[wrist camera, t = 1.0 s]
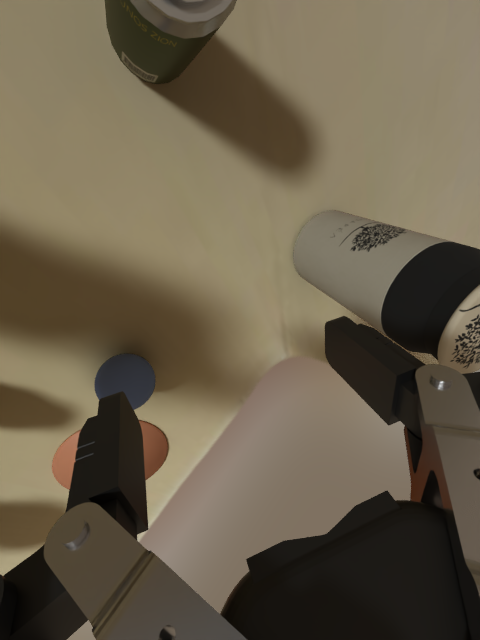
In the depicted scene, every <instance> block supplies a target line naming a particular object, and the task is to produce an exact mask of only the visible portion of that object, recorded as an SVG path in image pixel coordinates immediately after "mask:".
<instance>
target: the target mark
mask: <svg viewBox="0 0 480 640" xmlns="http://www.w3.org/2000/svg"><path fill="white" fill-rule="evenodd" d="M139 423H140V426H141V429H142V434H143V449H144V466H145V480H147V479H148V478H149V477H151V476H152V475H153V474H154V473H155V472H156V471H157V470H158V469H159V468H160V467H161V465H162V464H163V462H164V460H165V458H166V455H167V450H168V446H167V441H166V438H165V436H164V434H163V433H162V432H161V431H160V430H159V429H158V428H157V427H155V426H153V425H152V424H149V423H147V422H144V421H140V420H139ZM81 430H82V429H81ZM81 430H79V431H77V432H76V433H74V434H73V435H71V436H70V437H69V438H67V439H66V440H65V441H64V442H63V443H62V444H61V446H60V447H59V448H58V450H57V451H56V453H55V455H54V458H53V463H52V471H53V474H54V477H55V478H56V480H57V481H58V482H59V483H60V484H61V485H62V486H64V487H65V488H67V489H69V490H70V485H71V479H72V474H73V468H74V462H76V461H75V456H76V450H78V449H77V444H78V438H79V433H80V431H81Z"/></svg>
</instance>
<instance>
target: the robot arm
mask: <svg viewBox="0 0 480 640" xmlns="http://www.w3.org/2000/svg"><path fill="white" fill-rule="evenodd" d="M325 354H326V358H327V360H328V362H329V364H330V365H331V367H332V368H333V369H334V370H335V371H336V372H337V373H338V374H339V375H340V376H341V377H342V378H343V379H344V380H345V381H346V382H347V383H348V384H349V385H350V386H351V387H352V388H353V389H354V390H355V391H356V392H357V393H358V395H360V397H361V398H362V399H363V400H364V401H365V402H366V403H367V404H368V405H369V406H370V407H371V408H372V409H373V410H374V411H375V412H376V413H377V414H378V415H379V416H380V417H381V418H382V419H383V420H384V421H385V422H386V423H387V424H388V425H391V424H393V423H396V422H398V421H401V422H402V423H403V424H404V425H405V427H404V435H405V442H406V450H407V457H408V464H409V470H410V478H411V495H410V501H407V500H401V501H400V500H397V501H395V500H394V499H393V497H392V496H391V495H390V494H389V492H388V491H385V492H383V493H381V494H379V495H377V496H375V497H373V498H371V499H369V500H367V501H364V502H362V503H361V504H358V505H356V506H355V507H354V508H353V509H352V510H351V511H350V512H349V513H348V514H347V515H346V516H345V517H344V518H343V519H342V520H341V521H340V522H339V523H338V524H337V525H336V526H335V527H334V528H332V529H331V530H330V531H329V532H328V533H327V534H325V535H321V536H313V537H307V538H300V539H293V540H287V541H283V542H280V543H278V544H277V545H274V546H272V547H270V548H268V549H266V550H264V551H262V552H260V553H258V554H256V555H254V556H252V557H250V558H248V559H247V564H248V567H249V570H250V571H249V572H248V573H247V574H246V575H245V576H244V577H243V578H242V579H241V580H240V581H239V583H238V584H237V585H236V586H235V588H234V589H233V591H232V592H231V594H230V595H229V597H228V599H227V601H226V603H225V605H224V607H223V609H222V611H221V613H220V614H219V613H218V612H217V611H216V610H215V609H214V608H213V607H212V606H210V605H209V604H208V603H207V602H206V601H205V600H204V599H203V598H202V597H201V596H200V595H199V594H197V593H196V592H195V591H194V590H193V589H192V588H191V587H190V586H189V585H188V584H187V583H186V582H185V581H183V580H182V579H181V578H180V577H179V576H178V575H177V574H176V573H175V572H174V571H173V570H172V569H171V568H169V567H168V566H167V565H166V564H165V563H164V562H163V561H162V560H161V559H160V558H159V557H157V556H156V555H155V554H154V553H153V552H151V551H148V550H147V549H145V548H144V547H143V546H142V545H141V544H140V543H139V542H138V541H137V534H139V533H142V532H144V531H146V530H148V518H147V500H146V483H145V466H144V449H143V434H142V429H141V426H140V423H139V420H138V418H137V416H136V414H135V412H134V410H133V408H132V406H131V404H130V402H129V400H128V399H127V397H126V395H125V393H124V392H123V391H121V392H118V393H115V394H112V395H109V396H106V397H103V398H101V399H100V400H99V407H98V415H97V416H94V417H91V418H89V419H87V421H86V423H85V424H84V426H83V428H82V430H81V431H80V433H79V438H78V444H77V449H78V450H76V456H75V461H76V462H74V468H73V474H72V479H71V485H70V491H69V497H68V503H67V509H66V513H65V514H64V515H63V516H61V517H60V519H59V520H58V521H57V522H56V523H55V525H54V526H53V527H52V529H51V531H50V532H49V534H48V537H47V539H46V542H45V544H44V545H43V546H42V547H41V548H40V549H39V550H38V551H36V552H35V553H34V554H32V555H31V556H30V557H28V558H27V559H26V560H24V561H23V562H21V563H20V564H19V565H17V566H16V567H15V568H13V569H12V570H11V571H9V572H8V573H7V574H5V575H4V576H2V575H0V640H66V639H68V638H69V637H70V636H71V635H72V634H73V633H74V632H75V631H77V630H78V629H79V628H80V627H81V626H82V625H83V624H84V623H85V622H87V620H89V621H90V623H91V625H92V627H93V629H92V632H93V635H94V637H95V638H96V640H480V372H475V373H465V374H461V373H460V372H458V371H456V370H455V369H452V368H450V367H447V366H443V365H437V364H429V365H425V364H424V363H422V362H421V361H420V360H418V359H417V358H415V357H414V356H412V355H411V354H410V353H408V352H407V351H405V350H404V349H402V348H401V347H400V346H398V345H397V344H395V343H393V342H392V341H391V340H390V339H388V338H387V337H384V335H382V334H381V333H380V332H378V331H377V330H375V329H374V328H371V327H368V326H365V325H363V324H358V325H357V324H356V323H354V322H353V321H352V320H350V319H349V318H348V317H346V316H343V317H340V318H337V319H334V320H331V321H328V322H326V324H325Z"/></svg>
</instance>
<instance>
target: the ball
mask: <svg viewBox="0 0 480 640" xmlns="http://www.w3.org/2000/svg"><path fill="white" fill-rule="evenodd" d="M154 387H155V374H154V371H153V368H152V367H151V365H150V364H149V363H148V362H147V361H146V360H145V359H144V358H142V357H140V356H138V355H135V354H120V355H116V356H114V357H112V358H110V359H108V360H107V361H106V362H105V363H104V364H103V365H102V366H101V367H100V369H99V370H98V372H97V375H96V378H95V392H96V395H97V397H98V399H99V400H100V399H101V398H103V397H106V396H109V395H112V394H115V393H118V392H121V391H123V392H124V393H125V395H126V397H127V399H128V400H129V402H130V404H131V406H132V408H133V410H134V409H136V408H138V407H140V406H142V405H143V404H144V403H145V402H146V401H147V400H148V399H149V398H150V396H151V395H152V393H153V390H154Z"/></svg>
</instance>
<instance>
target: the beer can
mask: <svg viewBox="0 0 480 640" xmlns="http://www.w3.org/2000/svg"><path fill="white" fill-rule="evenodd" d="M236 1H237V0H105V10H106V22H107V29H108V32H109V36H110V39H111V43H112V46H113V47H114V49H115V51H116V53H117V55H118V57H119V58H120V60H121V61H122V63H123V64H124V65H125V66H126V67H127V68H128V69H129V70H130V71H131V73H133V74H134V75H136V76H137V77H139V78H141V79H142V80H144V81H147V82H151V83H154V84H161V83H169V82H170V81H172V80H174V79H175V78H177V77H179V76H180V74H181V73H182V72H183V71H184V70H185V68H186V67H187V66H188V65H189V64H190V62H191V61H192V60H193V59H194V58H195V56H196V55H197V54H198V53H199V52H200V50H201V49H202V48H203V47H204V46H205V44H206V43H207V42H208V41H209V40H210V38H211V37H212V36H213V35H214V34H215V32H216V31H217V30H218V29H219V28H220V26H221V25H222V24H223V23H224V21H225V20H226V19H227V17H228V16H229V15H230V13H231V12H232V11H233V9H234V7H235V4H236Z"/></svg>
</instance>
